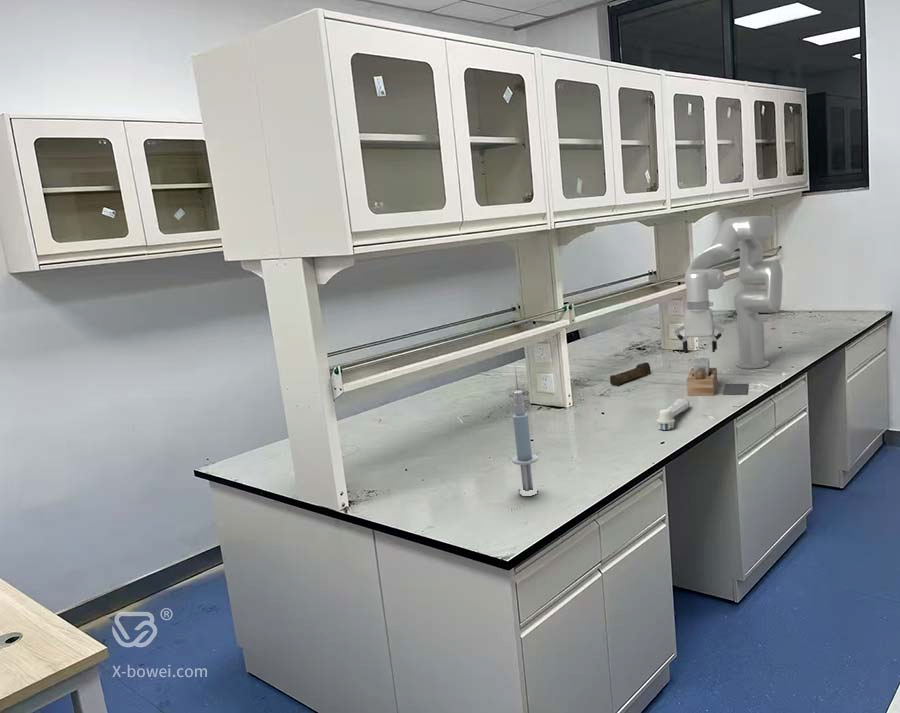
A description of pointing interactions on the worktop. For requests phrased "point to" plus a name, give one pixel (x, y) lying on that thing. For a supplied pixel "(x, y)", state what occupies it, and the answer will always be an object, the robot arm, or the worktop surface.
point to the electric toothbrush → (671, 414)
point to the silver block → (702, 366)
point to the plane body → (702, 383)
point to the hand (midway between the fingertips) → (699, 351)
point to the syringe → (523, 441)
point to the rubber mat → (735, 389)
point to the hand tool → (631, 374)
